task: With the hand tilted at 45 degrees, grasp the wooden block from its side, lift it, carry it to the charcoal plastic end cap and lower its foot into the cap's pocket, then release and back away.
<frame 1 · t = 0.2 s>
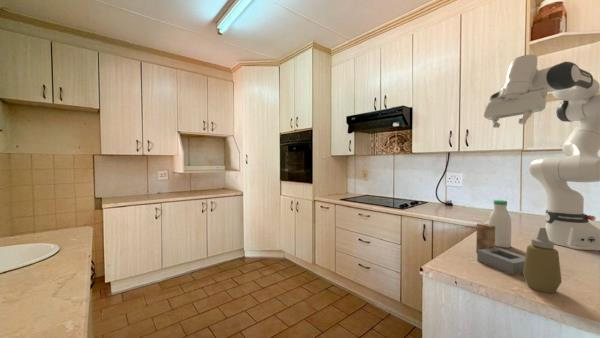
hand: (508, 125, 97), 52 cm above the counter, tool tilted 20°, fingers open, 8 cm apart
wooden block: (485, 254, 97), on the counter
end cap: (504, 265, 86), on the counter
squeeze bottle: (541, 289, 71), on the counter
milk bottle: (499, 245, 107), on the counter
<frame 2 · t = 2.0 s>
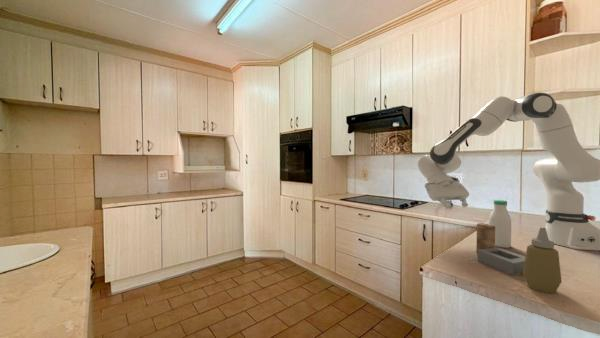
hand: (458, 206, 108), 17 cm above the counter, tool tilted 45°, fingers open, 8 cm apart
nothing on the counter moved.
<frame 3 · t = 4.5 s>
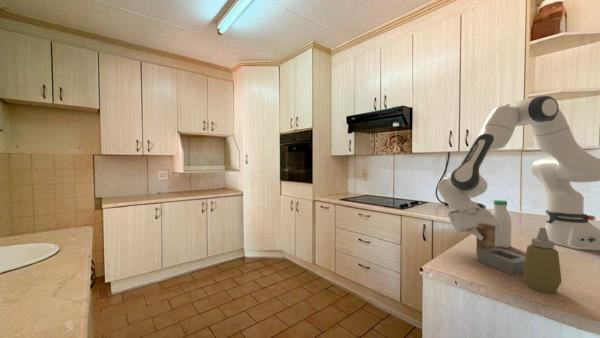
hand: (487, 239, 96), 6 cm above the counter, tool tilted 45°, fingers closed on wooden block, 3 cm apart
wooden block: (485, 254, 97), on the counter, touching gripper
everything else where it was.
when the fingers open (9 cm above the counter, at t = 9.2 s): wooden block drops 1 cm, resting on end cap.
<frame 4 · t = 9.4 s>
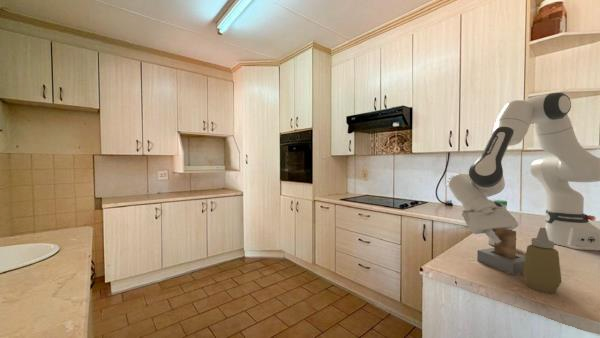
hand: (506, 241, 85), 9 cm above the counter, tool tilted 45°, fingers open, 5 cm apart
wooden block: (504, 262, 86), point 1 cm above the counter, touching end cap
everything else where it was.
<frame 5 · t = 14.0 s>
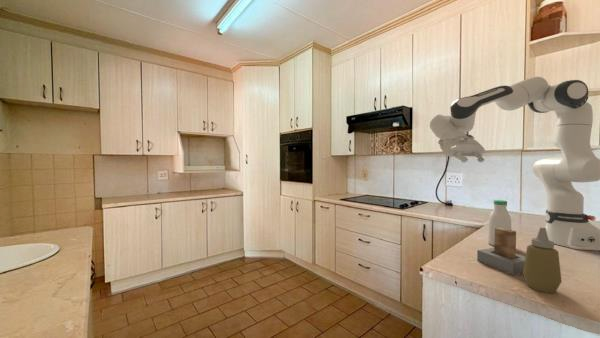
hand: (474, 161, 103), 37 cm above the counter, tool tilted 45°, fingers open, 8 cm apart
nothing on the counter moved.
at the end: wooden block 0.0 cm off-centre on the end cap, point 1.0 cm above the end cap's base; wooden block tilted 0°; the gripper is holding nothing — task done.
